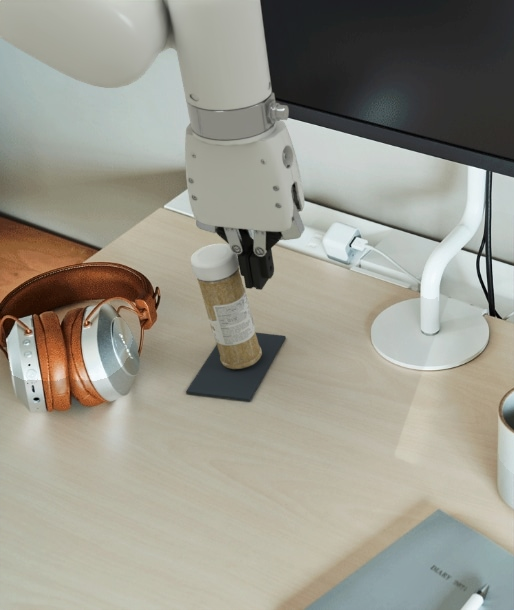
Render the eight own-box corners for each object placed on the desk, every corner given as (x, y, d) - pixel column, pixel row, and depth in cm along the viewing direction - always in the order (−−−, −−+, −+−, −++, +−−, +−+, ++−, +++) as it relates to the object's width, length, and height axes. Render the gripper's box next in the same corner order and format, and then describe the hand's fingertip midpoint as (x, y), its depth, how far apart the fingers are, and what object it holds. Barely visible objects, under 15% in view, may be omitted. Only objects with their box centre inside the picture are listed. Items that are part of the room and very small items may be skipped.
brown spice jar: (220, 350, 102) (189, 246, 94) (262, 342, 103) (234, 238, 95) (221, 375, 98) (188, 269, 91) (264, 366, 99) (235, 260, 91)
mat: (186, 394, 96) (185, 391, 96) (227, 331, 105) (226, 328, 105) (250, 402, 96) (249, 399, 95) (285, 338, 104) (285, 335, 104)
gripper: (324, 103, 85) (340, 269, 96) (172, 91, 87) (204, 255, 98) (297, 137, 79) (318, 310, 90) (135, 124, 81) (174, 294, 92)
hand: (259, 281), depth 94 cm, fingers closed
